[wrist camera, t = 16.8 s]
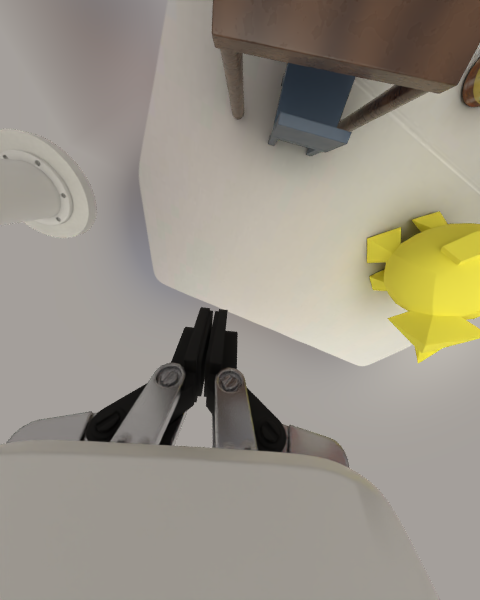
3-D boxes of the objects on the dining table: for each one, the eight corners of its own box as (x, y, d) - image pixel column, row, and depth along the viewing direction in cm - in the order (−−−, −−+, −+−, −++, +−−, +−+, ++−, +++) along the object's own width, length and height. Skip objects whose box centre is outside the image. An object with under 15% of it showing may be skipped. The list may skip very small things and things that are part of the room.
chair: (266, 145, 30) (277, 124, 19) (282, 73, 26) (307, -4, 15) (312, 157, 31) (347, 144, 20) (335, 89, 26) (394, 26, 16)
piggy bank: (362, 309, 47) (424, 376, 30) (348, 240, 38) (426, 282, 21) (455, 277, 41) (592, 337, 25) (465, 188, 32) (690, 191, 16)
